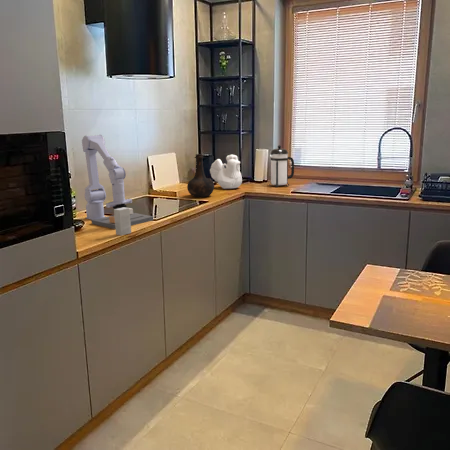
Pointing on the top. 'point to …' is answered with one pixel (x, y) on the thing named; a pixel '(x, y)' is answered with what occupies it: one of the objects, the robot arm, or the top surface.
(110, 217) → the block
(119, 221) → the skincare box
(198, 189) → the dark brown vase
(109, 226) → the dark grey slab
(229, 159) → the decorative rooster
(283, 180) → the coffee press
